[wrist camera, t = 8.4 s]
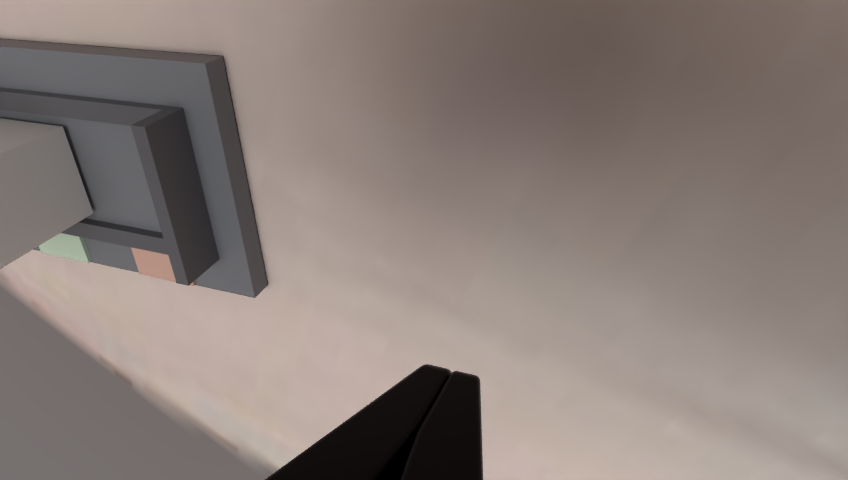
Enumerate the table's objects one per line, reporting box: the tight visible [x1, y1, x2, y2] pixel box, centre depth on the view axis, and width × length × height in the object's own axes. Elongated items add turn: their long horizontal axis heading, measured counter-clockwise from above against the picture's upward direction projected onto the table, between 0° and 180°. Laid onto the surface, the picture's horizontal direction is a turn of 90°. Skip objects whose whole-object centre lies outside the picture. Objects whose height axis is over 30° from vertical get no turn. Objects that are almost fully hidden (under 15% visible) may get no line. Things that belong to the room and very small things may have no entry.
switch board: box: [0, 39, 268, 298], centre depth 25 cm, size 14×10×3 cm
